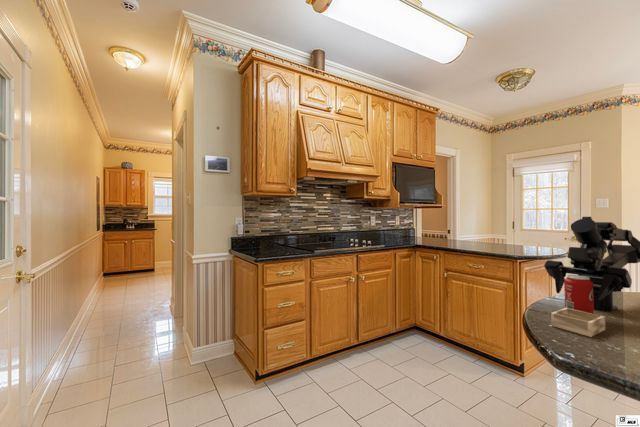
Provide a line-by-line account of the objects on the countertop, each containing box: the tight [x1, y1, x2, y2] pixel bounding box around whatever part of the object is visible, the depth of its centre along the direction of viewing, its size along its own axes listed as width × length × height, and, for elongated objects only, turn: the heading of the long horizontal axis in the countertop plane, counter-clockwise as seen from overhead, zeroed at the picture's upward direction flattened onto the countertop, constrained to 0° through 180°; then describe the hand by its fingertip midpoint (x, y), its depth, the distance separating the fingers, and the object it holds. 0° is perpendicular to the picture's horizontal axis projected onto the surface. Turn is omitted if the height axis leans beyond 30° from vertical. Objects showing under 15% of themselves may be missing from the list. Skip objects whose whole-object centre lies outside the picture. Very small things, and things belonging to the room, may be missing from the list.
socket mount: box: [550, 307, 606, 338], centre depth 78 cm, size 8×8×4 cm
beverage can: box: [563, 274, 595, 314], centre depth 84 cm, size 6×6×12 cm
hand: (576, 296), depth 84 cm, fingers open, 9 cm apart
